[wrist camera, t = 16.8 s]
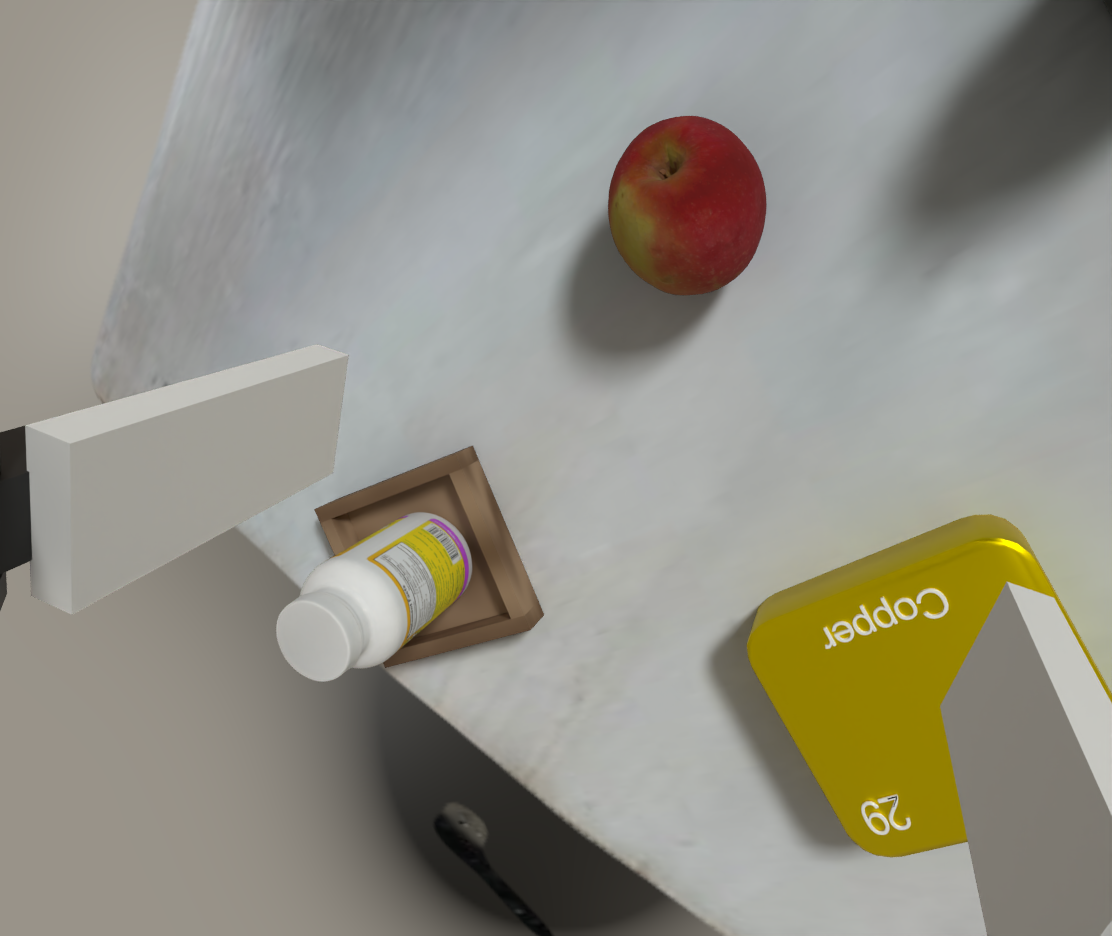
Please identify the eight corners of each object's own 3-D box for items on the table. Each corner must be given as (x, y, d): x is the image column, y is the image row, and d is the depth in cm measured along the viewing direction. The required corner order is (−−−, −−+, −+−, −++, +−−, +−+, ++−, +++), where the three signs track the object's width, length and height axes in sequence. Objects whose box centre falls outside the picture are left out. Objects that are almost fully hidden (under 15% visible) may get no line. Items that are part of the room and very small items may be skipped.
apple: (801, 154, 39) (786, 132, 32) (742, 310, 42) (715, 322, 35) (661, 113, 41) (617, 84, 34) (614, 265, 44) (563, 267, 37)
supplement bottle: (389, 590, 55) (261, 681, 43) (389, 501, 53) (255, 570, 41) (475, 612, 53) (364, 713, 41) (479, 519, 51) (364, 598, 39)
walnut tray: (335, 499, 55) (314, 509, 53) (472, 445, 50) (455, 453, 48) (403, 652, 57) (385, 667, 55) (544, 614, 52) (530, 630, 49)
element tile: (1003, 498, 40) (1019, 527, 36) (1141, 747, 41) (1173, 805, 37) (742, 604, 47) (729, 639, 43) (865, 818, 47) (864, 874, 43)
